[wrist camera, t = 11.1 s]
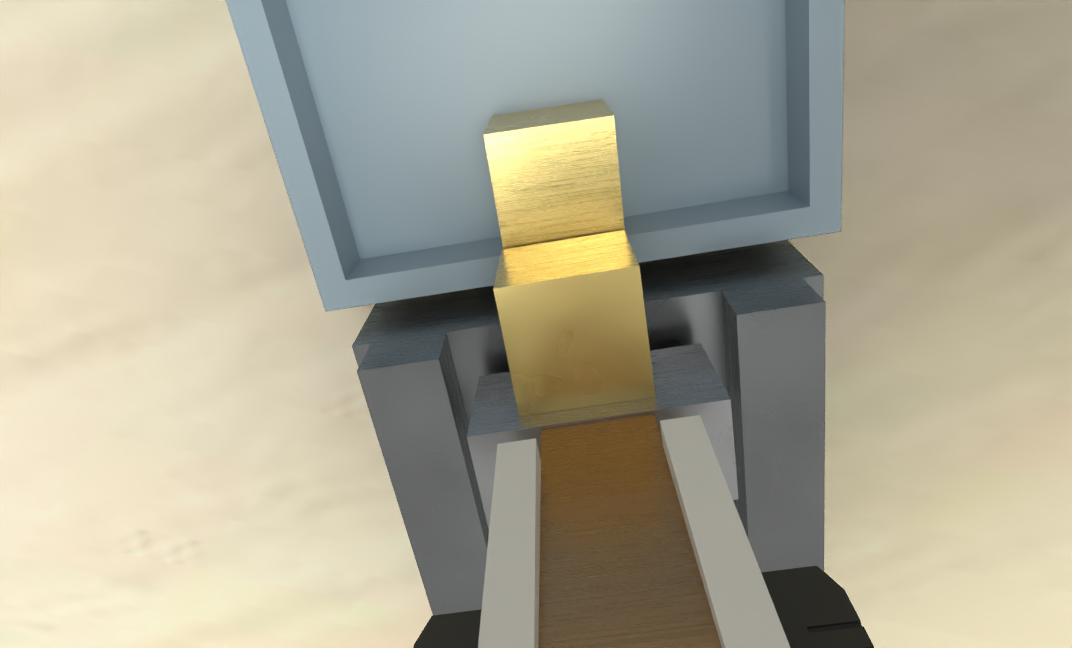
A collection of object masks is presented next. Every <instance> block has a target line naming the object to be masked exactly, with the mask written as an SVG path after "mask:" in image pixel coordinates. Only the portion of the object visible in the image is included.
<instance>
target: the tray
mask: <svg viewBox="0 0 1072 648" xmlns="http://www.w3.org/2000/svg"><path fill="white" fill-rule="evenodd" d="M226 2H227V5H228V9H229V12H230V15H231V18H232V21H233V24H234V27H235V30H236V34H237V37H238V40H239V43H240V46H241V49H242V52H243V55H244V59H245V62H246V65H247V68H248V71H249V74H250V77H251V80H252V83H253V87H254V90H255V93H256V96H257V99H258V102H259V105H260V108H261V112H262V115H263V118H264V121H265V124H266V127H267V130H268V133H269V137H270V140H271V143H272V146H273V149H274V152H275V155H276V158H277V161H278V165H279V168H280V171H281V174H282V177H283V180H284V183H285V186H286V190H287V193H288V196H289V199H290V202H291V205H292V208H293V211H294V215H295V218H296V221H297V224H298V227H299V230H300V233H301V236H302V239H303V243H304V246H305V249H306V252H307V255H308V258H309V261H310V264H311V268H312V271H313V274H314V277H315V280H316V283H317V286H318V289H319V293H320V296H321V299H322V302H323V305H324V308H325V311H331V310H338V309H344V308H351V307H357V306H364V305H370V304H377V303H383V302H389V301H396V300H402V299H409V298H415V297H422V296H428V295H434V294H441V293H447V292H454V291H460V290H467V289H473V288H480V287H486V286H492V285H494V283H495V279H496V274H497V270H498V265H499V261H500V256H501V252H502V250H503V245H502V239H501V233H500V227H499V221H498V216H497V210H496V204H495V198H494V192H493V187H492V181H491V175H490V169H489V163H488V158H487V152H486V146H485V140H484V132H485V130H486V128H487V126H488V123H489V121H490V119H491V116H493V115H500V114H506V113H513V112H520V111H526V110H533V109H540V108H546V107H553V106H560V105H566V104H573V103H580V102H586V101H593V100H600V99H603V100H604V101H605V103H606V104H607V106H608V107H609V109H610V110H611V112H612V113H613V115H614V121H615V132H616V142H617V153H618V163H619V174H620V184H621V195H622V205H623V216H624V227H625V233H626V235H627V238H628V240H629V242H630V245H631V247H632V249H633V252H634V254H635V256H636V259H637V261H638V263H640V262H647V261H653V260H660V259H666V258H673V257H679V256H686V255H692V254H698V253H705V252H711V251H718V250H724V249H731V248H737V247H743V246H750V245H756V244H763V243H769V242H776V241H782V240H789V239H795V238H801V237H808V236H814V235H821V234H827V233H834V232H840V231H841V201H842V135H843V69H844V3H845V0H226Z"/></svg>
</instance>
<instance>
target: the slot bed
mask: <svg viewBox="0 0 1072 648" xmlns="http://www.w3.org/2000/svg"><path fill="white" fill-rule="evenodd" d="M639 266H640V274H641V282H642V290H643V298H644V307H645V315H646V323H647V331H648V339H649V348H650V351H651V350H657V349H664V348H671V347H678V346H684V345H691V344H698V343H701V344H702V346H703V348H704V350H705V352H706V353H707V355H708V357H709V359H710V361H711V363H712V365H713V367H714V369H715V370H716V372H717V374H718V376H719V378H720V380H721V382H722V384H723V386H724V388H725V389H726V391H727V393H728V395H729V397H730V399H731V409H732V422H733V435H734V447H735V460H736V473H737V486H738V499H737V500H733V501H734V504H735V507H736V509H737V512H738V514H739V517H740V519H741V522H742V525H743V527H744V530H745V532H746V535H747V537H748V540H749V543H750V545H751V548H752V550H753V553H754V555H755V558H756V561H757V563H758V566H759V568H760V571H761V572H769V571H777V570H785V569H793V568H801V567H809V566H818V567H819V568H820V569H821V570H823V571H824V462H825V301H824V300H823V274H822V273H821V272H820V271H818V270H817V269H816V268H815V267H814V266H813V265H812V264H811V263H810V262H809V261H808V260H807V259H806V258H805V257H804V256H803V255H802V254H801V253H800V252H799V251H798V250H796V249H795V248H794V247H793V246H792V245H791V244H790V243H789V242H788V241H787V240H782V241H776V242H769V243H763V244H756V245H750V246H743V247H737V248H731V249H724V250H718V251H711V252H705V253H698V254H692V255H686V256H679V257H673V258H666V259H660V260H653V261H647V262H640V263H639ZM493 288H494V285H492V286H486V287H480V288H473V289H467V290H460V291H454V292H447V293H441V294H434V295H428V296H422V297H415V298H409V299H402V300H396V301H389V302H383V303H377V304H375V306H374V307H373V309H372V311H371V313H370V315H369V317H368V318H367V320H366V322H365V324H364V326H363V327H362V329H361V331H360V333H359V335H358V337H357V338H356V340H355V342H354V344H353V346H352V347H353V351H354V354H355V357H356V360H357V364H358V367H359V368H358V370H357V373H358V376H359V379H360V382H361V386H362V389H363V392H364V395H365V398H366V402H367V405H368V408H369V411H370V415H371V418H372V421H373V424H374V427H375V431H376V434H377V437H378V440H379V443H380V447H381V450H382V453H383V456H384V459H385V463H386V466H387V469H388V472H389V475H390V479H391V482H392V485H393V488H394V491H395V495H396V498H397V501H398V504H399V507H400V511H401V514H402V517H403V520H404V523H405V527H406V530H407V533H408V536H409V539H410V543H411V546H412V549H413V552H414V555H415V559H416V562H417V565H418V568H419V571H420V575H421V578H422V581H423V584H424V587H425V591H426V594H427V597H428V600H429V604H430V607H431V610H432V613H433V615H441V614H448V613H456V612H464V611H472V610H480V609H482V599H483V589H484V579H485V568H486V558H487V547H488V537H489V529H488V525H487V520H486V516H485V512H484V508H483V504H482V499H481V495H480V491H479V487H478V482H477V478H476V474H475V470H474V466H473V461H472V457H471V453H470V449H469V445H468V440H467V433H468V428H469V424H470V419H471V414H472V409H473V405H474V400H475V395H476V390H477V385H478V381H479V376H483V375H490V374H496V373H503V372H510V369H509V364H508V359H507V354H506V349H505V344H504V339H503V334H502V329H501V324H500V320H499V315H498V310H497V305H496V300H495V295H494V290H493Z"/></svg>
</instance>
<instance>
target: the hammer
mask: <svg viewBox="0 0 1072 648" xmlns="http://www.w3.org/2000/svg"><path fill="white" fill-rule="evenodd" d="M650 356H651V364H652V372H653V380H654V389H655V397H651V398H644V399H638V400H631V401H624V402H617V403H610V404H603V405H596V406H589V407H582V408H575V409H568V410H561V411H554V412H547V413H540V414H534V415H527V416H520V417H519V413H518V408H517V403H516V398H515V393H514V388H513V383H512V378H511V374H510V372H503V373H496V374H490V375H483V376H479V381H478V385H477V390H476V395H475V400H474V405H473V409H472V414H471V419H470V424H469V428H468V433H467V440H468V445H469V449H470V453H471V457H472V461H473V466H474V470H475V474H476V478H477V482H478V487H479V491H480V495H481V499H482V504H483V508H484V512H485V516H486V520H487V525H488V529H489V527H490V516H491V506H492V495H493V485H494V475H495V464H496V454H497V444H500V443H507V442H514V441H521V440H528V439H535V438H536V441H537V446H538V450H539V455H540V460H541V501H540V571H539V641H538V648H722V647H721V643H720V640H719V636H718V633H717V629H716V626H715V623H714V619H713V616H712V612H711V609H710V605H709V602H708V599H707V595H706V592H705V588H704V585H703V582H702V578H701V575H700V571H699V568H698V564H697V561H696V558H695V554H694V551H693V547H692V544H691V540H690V537H689V534H688V530H687V527H686V523H685V520H684V516H683V513H682V510H681V506H680V503H679V499H678V496H677V493H676V489H675V486H674V482H673V479H672V475H671V472H670V469H669V465H668V462H667V458H666V455H665V451H664V448H663V443H662V434H661V426H660V421H661V420H668V419H675V418H682V417H689V416H696V415H700V417H701V419H702V422H703V424H704V427H705V429H706V432H707V435H708V437H709V440H710V442H711V445H712V447H713V450H714V453H715V455H716V458H717V460H718V463H719V465H720V468H721V471H722V473H723V476H724V478H725V481H726V483H727V486H728V489H729V491H730V494H731V496H732V499H733V500H737V499H738V486H737V473H736V460H735V447H734V435H733V422H732V409H731V399H730V397H729V395H728V393H727V391H726V389H725V388H724V386H723V384H722V382H721V380H720V378H719V376H718V374H717V372H716V370H715V369H714V367H713V365H712V363H711V361H710V359H709V357H708V355H707V353H706V352H705V350H704V348H703V346H702V344H701V343H698V344H691V345H684V346H678V347H671V348H664V349H657V350H651V351H650Z"/></svg>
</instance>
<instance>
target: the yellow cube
mask: <svg viewBox="0 0 1072 648" xmlns="http://www.w3.org/2000/svg"><path fill="white" fill-rule="evenodd" d="M493 290H494V295H495V300H496V305H497V310H498V315H499V320H500V324H501V329H502V334H503V339H504V344H505V349H506V354H507V359H508V364H509V369H510V374H511V378H512V383H513V388H514V393H515V398H516V403H517V408H518V413H519V417H520V416H527V415H534V414H540V413H547V412H554V411H561V410H568V409H575V408H582V407H589V406H596V405H603V404H610V403H617V402H624V401H631V400H638V399H644V398H651V397H655V389H654V380H653V372H652V364H651V356H650V348H649V339H648V331H647V323H646V315H645V307H644V298H643V290H642V282H641V274H640V266H639V263H638V261H637V259H636V256H635V254H634V252H633V249H632V247H631V245H630V242H629V240H628V238H627V235H626V233H625V231H624V230H620V231H614V232H608V233H602V234H595V235H589V236H583V237H577V238H571V239H565V240H559V241H552V242H546V243H540V244H534V245H528V246H522V247H516V248H509V249H503V250H502V252H501V256H500V261H499V265H498V270H497V274H496V279H495V283H494V288H493Z"/></svg>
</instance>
